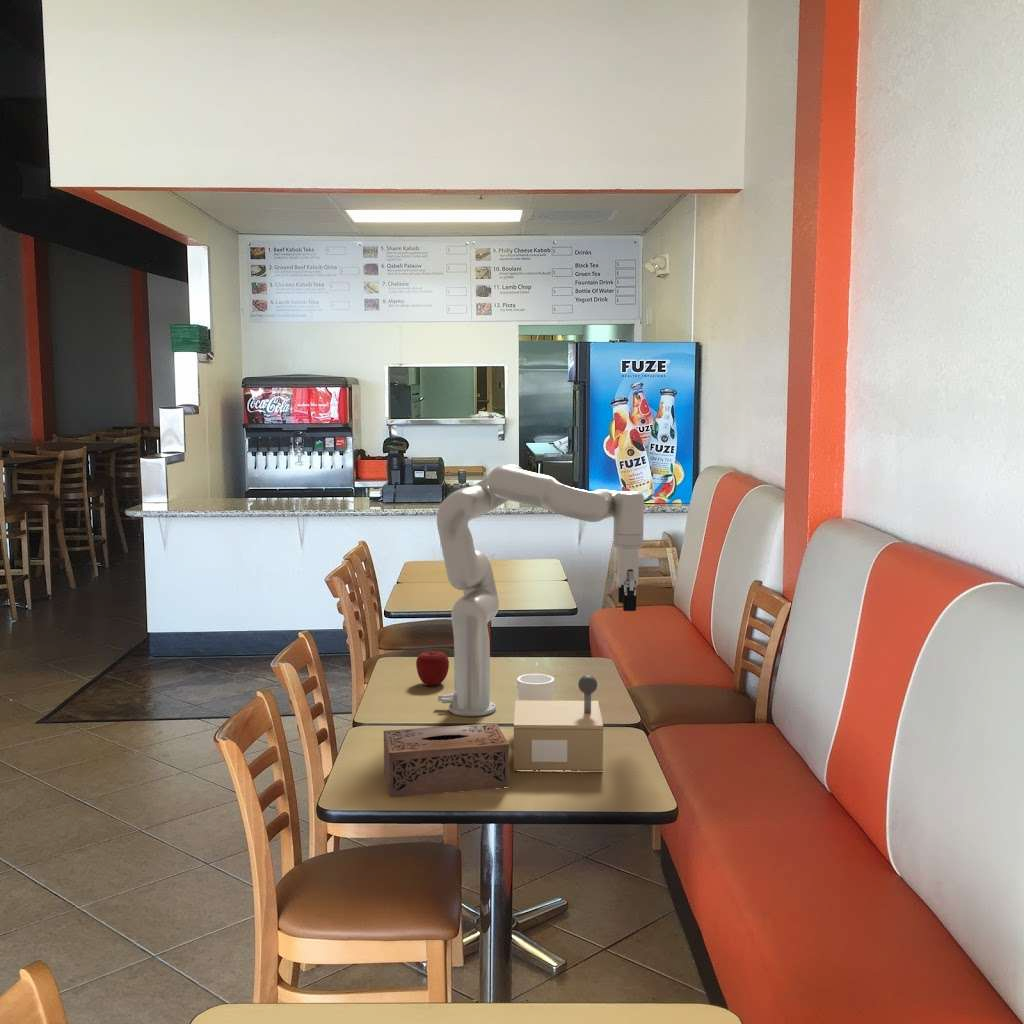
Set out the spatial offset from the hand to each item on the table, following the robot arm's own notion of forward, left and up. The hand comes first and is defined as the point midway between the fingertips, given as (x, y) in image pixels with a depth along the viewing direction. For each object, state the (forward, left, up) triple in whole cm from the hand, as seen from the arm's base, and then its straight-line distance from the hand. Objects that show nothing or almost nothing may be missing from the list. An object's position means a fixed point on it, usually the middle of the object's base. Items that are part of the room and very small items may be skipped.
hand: (627, 606), depth 259 cm
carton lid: (-18, -25, -21) cm, 37 cm away
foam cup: (-23, -4, -31) cm, 39 cm away
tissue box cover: (-43, -39, -31) cm, 66 cm away
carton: (-18, -25, -31) cm, 44 cm away
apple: (-53, +35, -31) cm, 71 cm away
